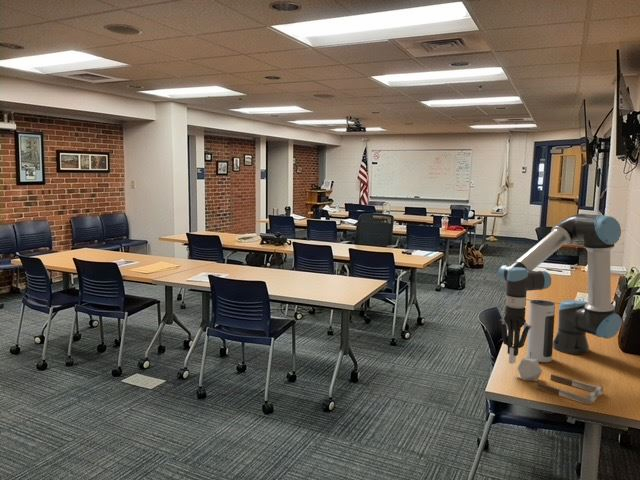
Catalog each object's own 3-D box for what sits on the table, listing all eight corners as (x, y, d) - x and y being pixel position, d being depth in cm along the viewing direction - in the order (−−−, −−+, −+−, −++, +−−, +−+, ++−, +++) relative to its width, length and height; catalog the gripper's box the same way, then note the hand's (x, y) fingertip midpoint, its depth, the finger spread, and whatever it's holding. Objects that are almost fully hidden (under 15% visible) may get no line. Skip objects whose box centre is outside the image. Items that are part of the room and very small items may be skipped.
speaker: (536, 363, 212) (540, 305, 209) (520, 355, 222) (524, 299, 219) (557, 361, 215) (561, 303, 212) (540, 353, 225) (544, 298, 222)
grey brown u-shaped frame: (551, 378, 196) (552, 371, 195) (602, 393, 182) (603, 385, 182) (536, 388, 186) (537, 381, 186) (589, 405, 173) (590, 397, 172)
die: (540, 378, 198) (526, 355, 201) (550, 375, 190) (536, 351, 193) (523, 387, 196) (509, 364, 200) (532, 384, 188) (518, 360, 191)
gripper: (495, 304, 199) (492, 360, 202) (527, 310, 190) (523, 369, 192) (504, 301, 204) (501, 356, 207) (535, 307, 195) (532, 364, 197)
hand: (512, 362), depth 200 cm, fingers closed
